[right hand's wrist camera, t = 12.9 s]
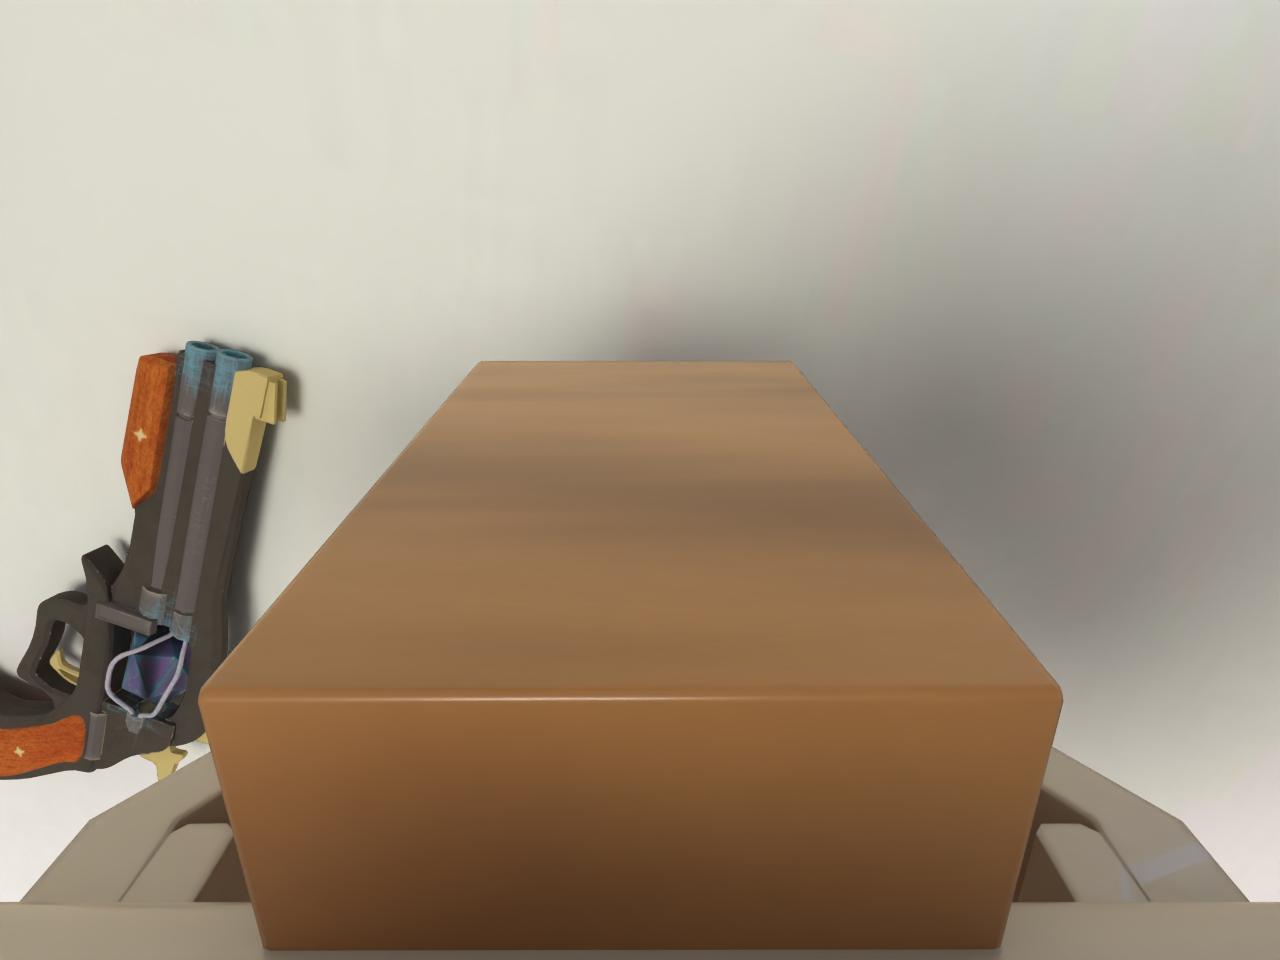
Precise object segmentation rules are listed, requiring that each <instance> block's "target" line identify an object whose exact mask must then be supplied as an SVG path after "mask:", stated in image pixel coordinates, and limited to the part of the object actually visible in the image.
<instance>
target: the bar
mask: <svg viewBox="0 0 1280 960" xmlns="http://www.w3.org/2000/svg"><path fill="white" fill-rule="evenodd" d="M1062 704H1063V696H1062V691H1061V688H1060V686H1059V685H1058V683H1057V682H1056V681H1055V680H1054V679H1053V677H1052V676H1051V675H1050V674H1049V673H1048V671H1047V670H1046V669H1045V668H1044V667H1043V665H1042V664H1041V663H1040V662H1039V660H1038V659H1037V658H1036V657H1035V656H1034V654H1033V653H1032V652H1031V651H1030V650H1029V648H1028V647H1027V646H1026V645H1025V643H1024V642H1023V641H1022V640H1021V639H1020V637H1019V636H1018V635H1017V634H1016V633H1015V631H1014V630H1013V629H1012V628H1011V626H1010V625H1009V624H1008V623H1007V622H1006V620H1005V619H1004V618H1003V617H1002V616H1001V614H1000V613H999V612H998V611H997V609H996V608H995V607H994V606H993V605H992V603H991V602H990V601H989V600H988V599H987V597H986V596H985V595H984V594H983V593H982V591H981V590H980V589H979V588H978V586H977V585H976V584H975V583H974V582H973V580H972V579H971V578H970V577H969V576H968V574H967V573H966V572H965V571H964V569H963V568H962V567H961V566H960V565H959V563H958V562H957V561H956V560H955V559H954V557H953V556H952V555H951V554H950V552H949V551H948V550H947V549H946V548H945V546H944V545H943V544H942V543H941V542H940V540H939V539H938V538H937V537H936V535H935V534H934V533H933V532H932V531H931V529H930V528H929V527H928V526H927V525H926V523H925V522H924V521H923V520H922V518H921V517H920V516H919V515H918V514H917V512H916V511H915V510H914V509H913V508H912V506H911V505H910V504H909V503H908V502H907V500H906V499H905V498H904V497H903V495H902V494H901V493H900V492H899V491H898V489H897V488H896V487H895V486H894V485H893V483H892V482H891V481H890V480H889V478H888V477H887V476H886V475H885V474H884V472H883V471H882V470H881V469H880V468H879V466H878V465H877V464H876V463H875V461H874V460H873V459H872V458H871V457H870V455H869V454H868V453H867V452H866V451H865V449H864V448H863V447H862V446H861V444H860V443H859V442H858V441H857V440H856V438H855V437H854V436H853V435H852V434H851V432H850V431H849V430H848V429H847V428H846V426H845V425H844V424H843V423H842V421H841V420H840V419H839V418H838V417H837V415H836V414H835V413H834V412H833V411H832V409H831V408H830V407H829V406H828V404H827V403H826V402H825V401H824V400H823V398H822V397H821V396H820V395H819V394H818V392H817V391H816V390H815V389H814V387H813V386H812V385H811V384H810V383H809V381H808V380H807V379H806V378H805V377H804V375H803V374H802V373H801V372H800V370H799V369H798V368H797V367H796V366H795V364H794V363H793V362H790V361H481V362H479V363H478V364H477V365H476V366H475V367H474V368H473V370H472V371H471V372H470V373H469V374H468V375H467V377H466V378H465V379H464V380H463V381H462V382H461V384H460V385H459V386H458V387H457V388H456V389H455V391H454V392H453V393H452V394H451V395H450V397H449V398H448V399H447V400H446V401H445V402H444V404H443V405H442V406H441V407H440V408H439V409H438V411H437V412H436V413H435V414H434V415H433V416H432V418H431V419H430V420H429V421H428V422H427V423H426V425H425V426H424V427H423V428H422V429H421V431H420V432H419V433H418V434H417V435H416V436H415V438H414V439H413V440H412V441H411V442H410V443H409V445H408V446H407V447H406V448H405V449H404V450H403V452H402V453H401V454H400V455H399V456H398V457H397V459H396V460H395V461H394V462H393V463H392V465H391V466H390V467H389V468H388V469H387V470H386V472H385V473H384V474H383V475H382V476H381V477H380V479H379V480H378V481H377V482H376V483H375V484H374V486H373V487H372V488H371V489H370V490H369V491H368V493H367V494H366V495H365V496H364V497H363V499H362V500H361V501H360V502H359V503H358V504H357V506H356V507H355V508H354V509H353V510H352V511H351V513H350V514H349V515H348V516H347V517H346V518H345V520H344V521H343V522H342V523H341V524H340V525H339V527H338V528H337V529H336V530H335V531H334V533H333V534H332V535H331V536H330V537H329V538H328V540H327V541H326V542H325V543H324V544H323V545H322V547H321V548H320V549H319V550H318V551H317V552H316V554H315V555H314V556H313V557H312V558H311V559H310V561H309V562H308V563H307V564H306V565H305V567H304V568H303V569H302V570H301V571H300V572H299V574H298V575H297V576H296V577H295V578H294V579H293V581H292V582H291V583H290V584H289V585H288V586H287V588H286V589H285V590H284V591H283V592H282V593H281V595H280V596H279V597H278V598H277V599H276V601H275V602H274V603H273V604H272V605H271V606H270V608H269V609H268V610H267V611H266V612H265V613H264V615H263V616H262V617H261V618H260V619H259V620H258V622H257V623H256V624H255V625H254V626H253V627H252V629H251V630H250V631H249V632H248V633H247V635H246V636H245V637H244V638H243V639H242V640H241V642H240V643H239V644H238V645H237V646H236V647H235V649H234V650H233V651H232V652H231V653H230V654H229V656H228V657H227V658H226V659H225V660H224V661H223V663H222V664H221V665H220V666H219V667H218V669H217V670H216V671H215V672H214V673H213V674H212V676H211V677H210V678H209V679H208V680H207V681H206V683H205V684H204V685H203V686H202V687H201V690H200V693H199V698H198V705H199V709H200V712H201V716H202V720H203V724H204V727H205V731H206V735H207V739H208V742H209V746H210V750H211V754H212V757H213V761H214V765H215V769H216V772H217V776H218V780H219V784H220V787H221V791H222V795H223V799H224V802H225V806H226V810H227V814H228V817H229V821H230V825H231V829H232V832H233V836H234V840H235V843H236V847H237V851H238V855H239V858H240V862H241V866H242V870H243V873H244V877H245V881H246V885H247V888H248V892H249V896H250V900H251V903H252V907H253V911H254V915H255V918H256V922H257V926H258V930H259V933H260V937H261V941H262V945H263V948H265V949H268V950H270V951H342V950H949V949H996V948H998V947H1001V943H1002V939H1003V935H1004V931H1005V927H1006V924H1007V920H1008V916H1009V912H1010V908H1011V904H1012V900H1013V896H1014V892H1015V888H1016V884H1017V880H1018V877H1019V873H1020V869H1021V865H1022V861H1023V857H1024V853H1025V849H1026V845H1027V841H1028V837H1029V834H1030V830H1031V826H1032V822H1033V818H1034V814H1035V810H1036V806H1037V802H1038V798H1039V794H1040V790H1041V787H1042V783H1043V779H1044V775H1045V771H1046V767H1047V763H1048V759H1049V755H1050V751H1051V747H1052V744H1053V740H1054V736H1055V732H1056V728H1057V724H1058V720H1059V716H1060V712H1061V708H1062Z"/></svg>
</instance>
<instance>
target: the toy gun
mask: <svg viewBox="0 0 1280 960" xmlns="http://www.w3.org/2000/svg"><path fill="white" fill-rule="evenodd" d="M252 362H253V357H252V356H250V355H249V354H247V353H244V352H241V351H237V350H231V349H220V348H219V347H217V346H215V345H212V344H209V343H206V342H199V341H189V342H187V344H186V349H185V350H181V351H179V353H178V356H175V355H172V354H169V353H157V354H151V355H145V356H141V357H140V358H139V362H138V366H137V370H136V376H135V381H134V387H133V393H132V399H131V404H130V410H129V416H128V421H127V427H126V433H125V439H124V444H123V450H122V456H121V464H122V469H123V473H124V477H125V480H126V484H127V488H128V492H129V496H130V500H131V504H132V507H133V508H134V509H135V519H134V525H133V531H132V538H131V544H130V549H129V553H128V557H127V559H126V562H125V564H124V563H123V562H122V561H121V560H120V558H119V557H118V556H117V555H116V553H115V552H114V551H113V550H112V549H111V547H110V546H109V545H104V546H102V547H100V548H98V549H95V550H93V551H91V552H89V553H87V554H85V555H83V556H82V564H83V568H84V572H85V576H86V581H87V592H88V595H87V594H84V593H81V592H77V591H66V592H62V593H59V594H57V595H55V596H53V597H51V598H49V599H47V600H45V601H43V602H42V603H41V604H40V605H39V607H38V610H37V619H36V627H35V631H34V635H33V638H32V641H31V643H30V646H29V648H28V650H27V652H26V653H25V655H24V657H23V659H22V661H21V662H20V664H19V666H18V668H17V673H18V675H19V677H21V678H22V679H24V680H26V681H28V682H30V683H31V684H33V685H35V686H37V687H38V688H39V689H41V690H42V691H44V692H45V693H46V694H47V695H48V696H49V697H50V698H51V699H52V700H27V699H23V698H20V697H18V696H15V695H13V694H11V693H9V692H7V691H5V690H3V689H1V688H0V780H11V779H25V778H33V777H37V776H42V775H47V774H52V773H56V772H61V771H68V770H77V771H82V772H93V771H95V770H96V769H104V768H108V767H111V766H113V765H115V764H117V763H118V762H120V761H122V760H124V759H126V758H128V757H130V756H134V755H138V754H139V755H140V756H141V757H143V758H145V759H147V760H149V761H151V762H153V763H154V764H155V765H156V767H157V775H158V781H160V780H161V779H163V778H165V777H167V776H169V775H170V774H172V773H174V772H175V770H176V768H177V765H178V763H179V762H180V761H181V760H182V759H183V758H184V757H185V756H186V755H187V753H188V752H187V751H186V750H181V749H178V748H176V746H179V745H183V744H187V743H190V742H192V741H195V740H197V741H200V742H203V743H206V744H209V742H208V739H207V735H206V731H205V727H204V724H203V720H202V716H201V712H200V709H199V705H198V698H199V693H200V690H201V687H202V686H203V685H204V684H205V683H206V681H207V680H208V679H209V678H210V677H211V676H212V674H213V673H214V672H215V671H216V670H217V669H218V667H219V666H220V665H221V664H222V663H223V661H224V660H225V659H226V658H227V647H228V618H227V596H228V589H229V584H230V579H231V574H232V569H233V564H234V559H235V554H236V549H237V544H238V539H239V533H240V528H241V524H242V519H243V514H244V510H245V505H246V501H247V496H248V492H249V487H250V483H251V479H252V475H253V471H254V469H255V468H256V465H257V461H258V457H259V453H260V448H261V444H262V439H263V435H264V431H265V426H266V422H267V423H270V424H273V425H275V424H276V419H277V420H280V421H286V396H287V380H284V379H283V374H282V373H280V372H277V371H274V370H271V369H268V368H262V367H256V368H251V367H252ZM66 623H68V624H70V625H71V626H73V627H74V628H75V629H76V630H77V631H78V632H79V633H80V634H81V635H82V637H83V638H84V643H83V651H82V658H81V665H80V669H79V668H77V667H75V666H73V665H71V664H69V663H68V662H67V661H66V660H65V658H64V651H63V649H59V650H58V651H56V652H55V650H56V648H57V646H58V644H59V642H60V640H61V638H62V635H63V633H64V630H65V624H66ZM131 630H133V631H135V632H134V636H133V640H132V645H131V649H130V651H129V648H130V641H131ZM54 652H55V653H54ZM128 656H129V657H128ZM183 692H185V694H184V697H183V700H182V702H181V704H180V705H177V704H174V703H171V702H169V700H171V699H172V698H174V697H176V696H177V695H180V694H181V693H183Z"/></svg>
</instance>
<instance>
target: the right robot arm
mask: <svg viewBox="0 0 1280 960" xmlns="http://www.w3.org/2000/svg"><path fill="white" fill-rule="evenodd" d="M0 960H1280V902H1250V901H1249V900H1248V899H1247V898H1246V897H1245V895H1244V894H1243V893H1242V892H1241V891H1240V889H1239V888H1238V887H1237V886H1236V885H1235V884H1234V882H1233V881H1232V880H1231V879H1230V878H1229V876H1228V875H1227V874H1226V873H1225V872H1224V870H1223V869H1222V868H1221V867H1220V866H1219V864H1218V863H1217V862H1216V861H1215V860H1214V858H1213V857H1212V856H1211V855H1210V854H1209V853H1208V851H1207V850H1206V849H1205V848H1204V847H1203V845H1202V844H1201V843H1200V842H1199V841H1198V839H1197V838H1196V837H1195V836H1194V835H1193V833H1192V832H1191V831H1190V830H1189V829H1188V828H1187V826H1186V825H1185V824H1184V823H1183V822H1182V821H1181V820H1179V819H1177V818H1176V817H1174V816H1172V815H1170V814H1169V813H1167V812H1165V811H1163V810H1162V809H1160V808H1158V807H1156V806H1155V805H1153V804H1151V803H1149V802H1148V801H1146V800H1144V799H1142V798H1141V797H1139V796H1137V795H1135V794H1134V793H1132V792H1130V791H1128V790H1127V789H1125V788H1123V787H1121V786H1120V785H1118V784H1116V783H1115V782H1113V781H1111V780H1109V779H1108V778H1106V777H1104V776H1102V775H1101V774H1099V773H1097V772H1095V771H1094V770H1092V769H1090V768H1088V767H1087V766H1085V765H1083V764H1081V763H1080V762H1078V761H1076V760H1074V759H1073V758H1071V757H1069V756H1067V755H1066V754H1064V753H1062V752H1060V751H1059V750H1057V749H1055V748H1053V747H1051V751H1050V755H1049V759H1048V763H1047V767H1046V771H1045V775H1044V779H1043V783H1042V787H1041V790H1040V794H1039V798H1038V802H1037V806H1036V810H1035V814H1034V818H1033V822H1032V826H1031V830H1030V834H1029V837H1028V841H1027V845H1026V849H1025V853H1024V857H1023V861H1022V865H1021V869H1020V873H1019V877H1018V880H1017V884H1016V888H1015V892H1014V896H1013V900H1012V904H1011V908H1010V912H1009V916H1008V920H1007V924H1006V927H1005V931H1004V935H1003V939H1002V943H1001V947H998V948H996V949H949V950H342V951H270V950H268V949H265V948H263V945H262V941H261V937H260V933H259V930H258V926H257V922H256V918H255V915H254V911H253V907H252V903H251V900H250V896H249V892H248V888H247V885H246V881H245V877H244V873H243V870H242V866H241V862H240V858H239V855H238V851H237V847H236V843H235V840H234V836H233V832H232V829H231V825H230V821H229V817H228V814H227V810H226V806H225V802H224V799H223V795H222V791H221V787H220V784H219V780H218V776H217V772H216V769H215V765H214V761H213V757H212V754H211V752H209V753H207V754H206V755H204V756H202V757H200V758H199V759H197V760H195V761H193V762H191V763H190V764H188V765H186V766H184V767H183V768H181V769H179V770H177V771H176V772H174V773H172V774H170V775H169V776H167V777H165V778H163V779H161V780H160V781H158V782H156V783H154V784H153V785H151V786H149V787H147V788H146V789H144V790H142V791H140V792H139V793H137V794H135V795H133V796H131V797H130V798H128V799H126V800H124V801H123V802H121V803H119V804H117V805H116V806H114V807H112V808H110V809H108V810H107V811H105V812H103V813H101V814H100V815H98V816H96V817H94V818H93V819H91V820H89V821H88V823H87V824H86V825H85V826H84V827H83V828H82V830H81V831H80V832H79V833H78V834H77V835H76V837H75V838H74V839H73V840H72V841H71V842H70V844H69V845H68V846H67V847H66V848H65V849H64V851H63V852H62V853H61V854H60V855H59V856H58V858H57V859H56V860H55V861H54V862H53V863H52V864H51V866H50V867H49V868H48V869H47V870H46V871H45V873H44V874H43V875H42V876H41V877H40V878H39V880H38V881H37V882H36V883H35V884H34V885H33V887H32V888H31V889H30V890H29V891H28V892H27V894H26V895H25V896H24V897H23V898H22V899H21V901H20V902H0Z"/></svg>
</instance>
